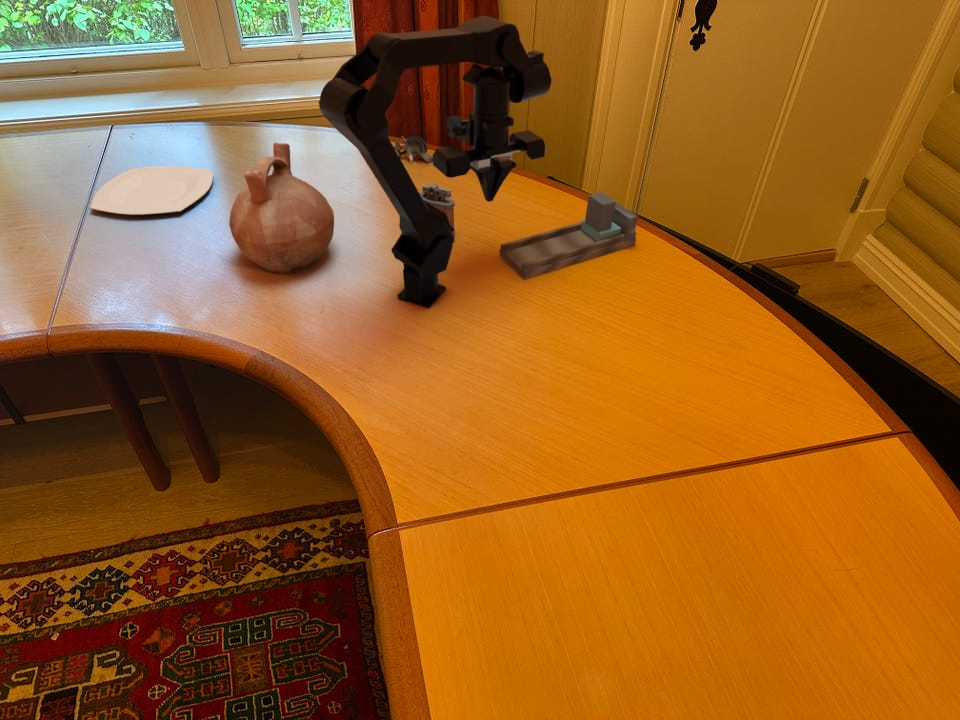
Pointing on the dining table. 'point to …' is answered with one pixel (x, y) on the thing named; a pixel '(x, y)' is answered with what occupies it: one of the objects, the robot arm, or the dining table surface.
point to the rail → (566, 246)
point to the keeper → (600, 217)
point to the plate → (153, 190)
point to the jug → (280, 216)
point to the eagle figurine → (414, 148)
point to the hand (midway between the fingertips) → (488, 200)
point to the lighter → (439, 200)
